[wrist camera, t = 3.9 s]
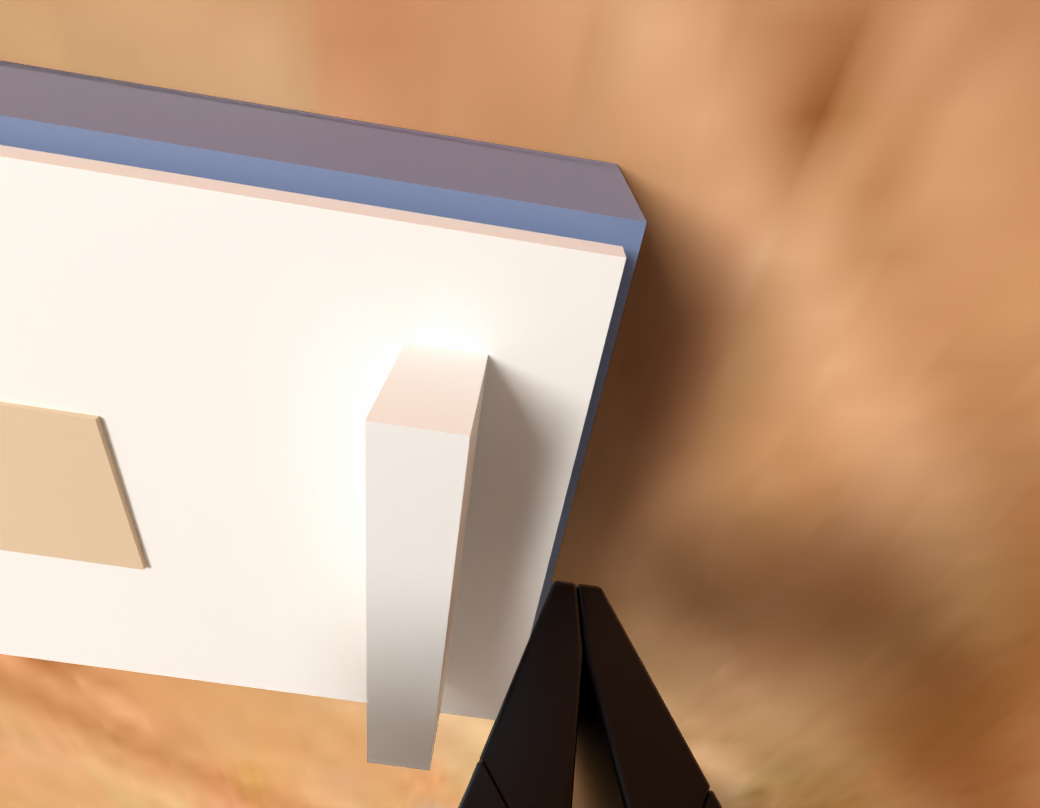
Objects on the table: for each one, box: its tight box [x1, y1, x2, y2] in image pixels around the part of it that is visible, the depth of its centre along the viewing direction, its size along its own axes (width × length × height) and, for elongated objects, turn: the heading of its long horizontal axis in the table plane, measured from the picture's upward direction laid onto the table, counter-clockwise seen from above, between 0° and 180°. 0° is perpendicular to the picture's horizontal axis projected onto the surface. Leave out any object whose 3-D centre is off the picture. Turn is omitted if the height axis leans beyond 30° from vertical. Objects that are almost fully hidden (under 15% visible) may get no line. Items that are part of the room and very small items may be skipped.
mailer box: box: [0, 61, 647, 635], centre depth 13 cm, size 16×12×4 cm
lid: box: [0, 145, 626, 770], centre depth 9 cm, size 15×11×2 cm
